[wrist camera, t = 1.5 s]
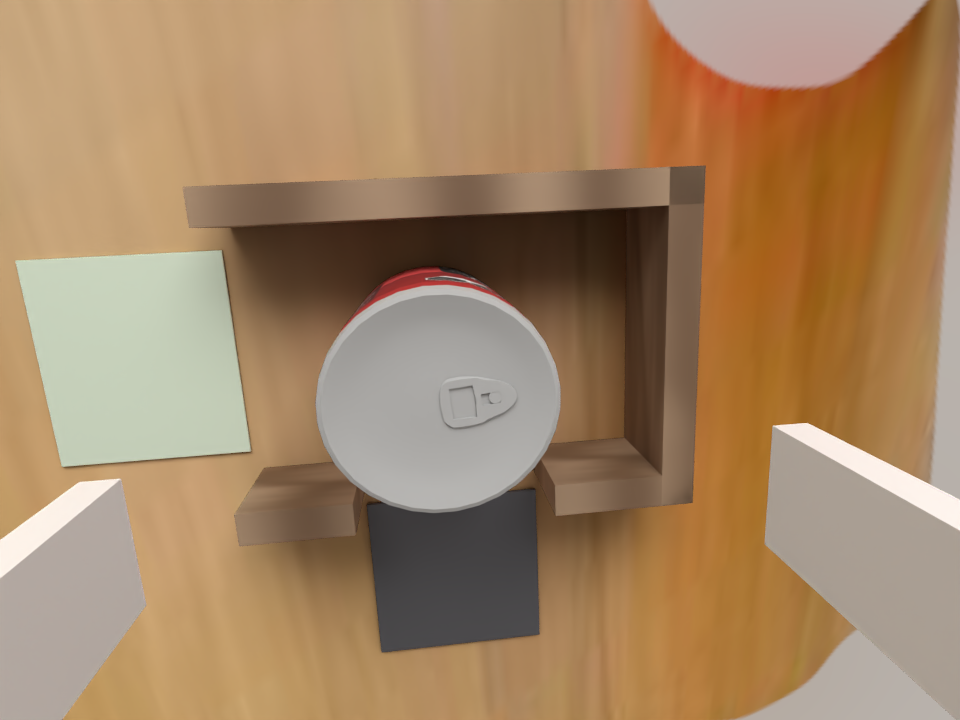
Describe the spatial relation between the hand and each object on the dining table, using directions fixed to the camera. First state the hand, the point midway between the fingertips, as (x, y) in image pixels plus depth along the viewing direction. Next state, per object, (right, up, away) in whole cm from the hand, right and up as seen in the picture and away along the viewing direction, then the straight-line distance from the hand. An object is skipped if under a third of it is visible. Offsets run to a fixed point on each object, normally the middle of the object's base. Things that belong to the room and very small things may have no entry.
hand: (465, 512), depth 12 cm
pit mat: (-1, -9, +20) cm, 22 cm away
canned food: (-2, +4, +18) cm, 18 cm away
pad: (-16, +3, +16) cm, 23 cm away
